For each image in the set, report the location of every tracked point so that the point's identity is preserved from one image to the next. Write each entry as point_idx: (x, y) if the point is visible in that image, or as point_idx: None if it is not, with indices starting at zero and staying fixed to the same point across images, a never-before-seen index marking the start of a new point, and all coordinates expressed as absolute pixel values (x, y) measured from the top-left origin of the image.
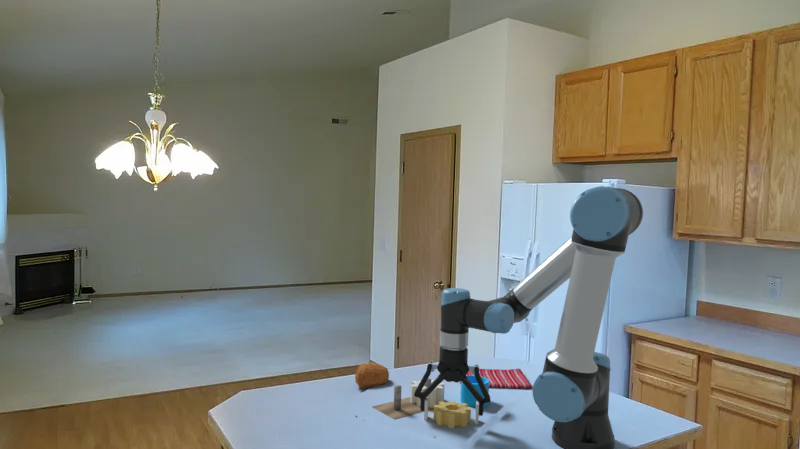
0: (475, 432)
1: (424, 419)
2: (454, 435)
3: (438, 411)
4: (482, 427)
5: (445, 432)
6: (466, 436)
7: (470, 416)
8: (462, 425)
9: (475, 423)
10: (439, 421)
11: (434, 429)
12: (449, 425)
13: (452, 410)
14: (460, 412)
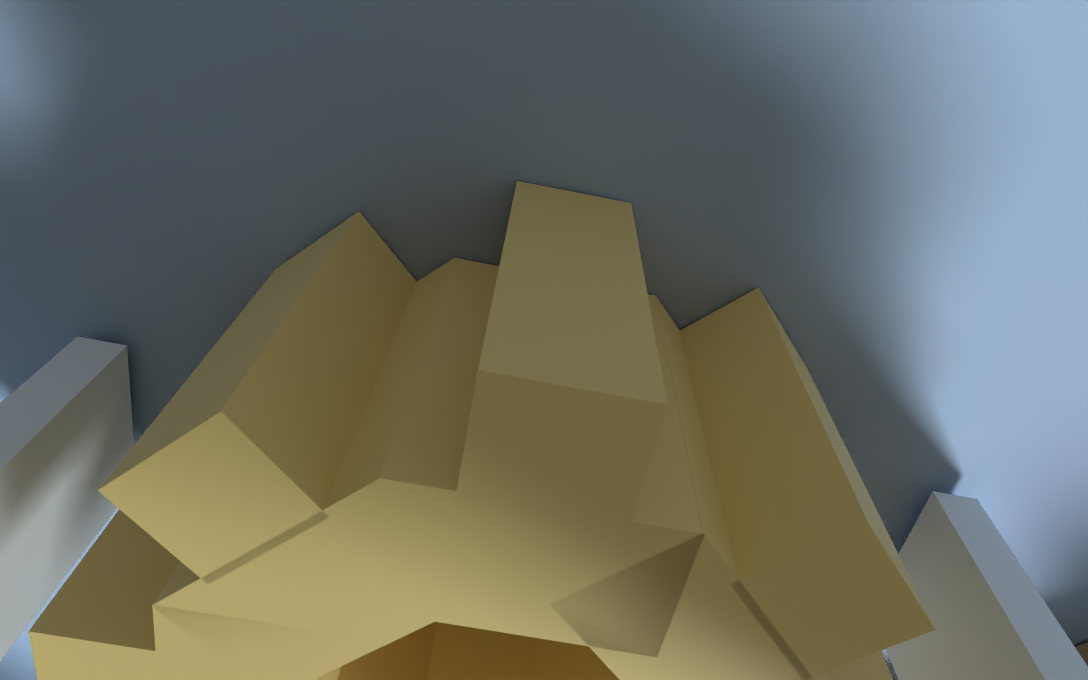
0: (122, 224)
1: (1011, 557)
2: (525, 94)
3: (905, 574)
4: None
5: (674, 229)
6: (289, 44)
7: (121, 515)
8: (326, 267)
9: (75, 394)
10: (814, 394)
11: (842, 349)
12: (616, 258)
13: (509, 608)
14: (297, 493)
